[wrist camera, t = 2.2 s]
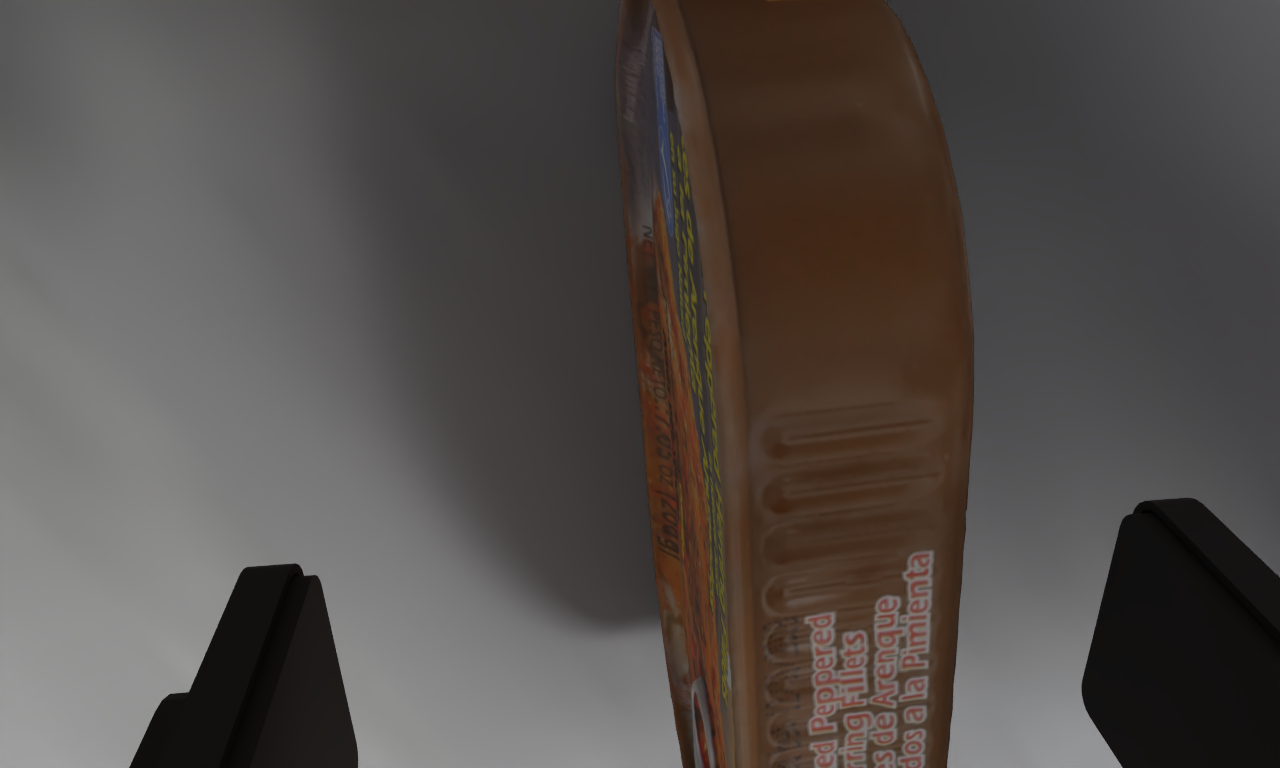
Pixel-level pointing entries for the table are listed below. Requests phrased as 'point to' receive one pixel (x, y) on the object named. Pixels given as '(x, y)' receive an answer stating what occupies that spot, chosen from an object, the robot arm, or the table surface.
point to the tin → (798, 376)
